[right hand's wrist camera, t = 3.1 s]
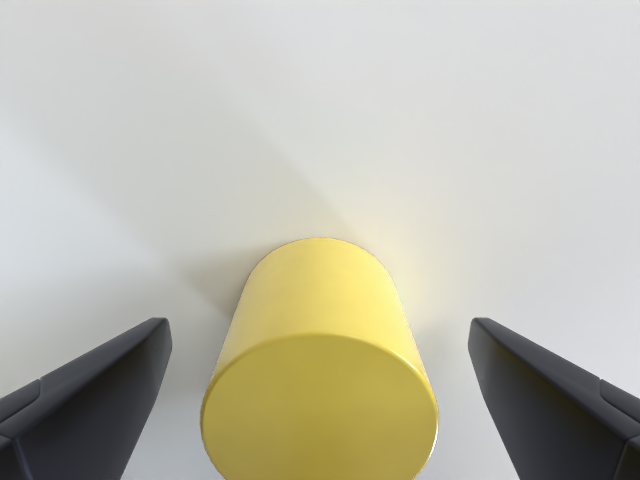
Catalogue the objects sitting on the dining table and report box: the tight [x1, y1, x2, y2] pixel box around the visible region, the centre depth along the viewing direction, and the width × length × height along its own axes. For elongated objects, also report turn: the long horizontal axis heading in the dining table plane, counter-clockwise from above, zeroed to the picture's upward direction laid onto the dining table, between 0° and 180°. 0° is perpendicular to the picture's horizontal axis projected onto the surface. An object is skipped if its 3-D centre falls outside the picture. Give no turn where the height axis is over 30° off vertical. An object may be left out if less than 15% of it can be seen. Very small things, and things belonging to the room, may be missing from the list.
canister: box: [200, 238, 439, 480], centre depth 10 cm, size 5×5×5 cm
